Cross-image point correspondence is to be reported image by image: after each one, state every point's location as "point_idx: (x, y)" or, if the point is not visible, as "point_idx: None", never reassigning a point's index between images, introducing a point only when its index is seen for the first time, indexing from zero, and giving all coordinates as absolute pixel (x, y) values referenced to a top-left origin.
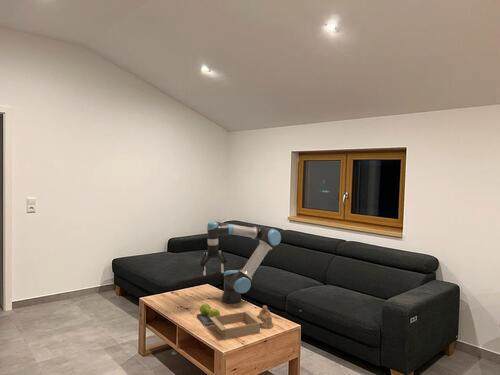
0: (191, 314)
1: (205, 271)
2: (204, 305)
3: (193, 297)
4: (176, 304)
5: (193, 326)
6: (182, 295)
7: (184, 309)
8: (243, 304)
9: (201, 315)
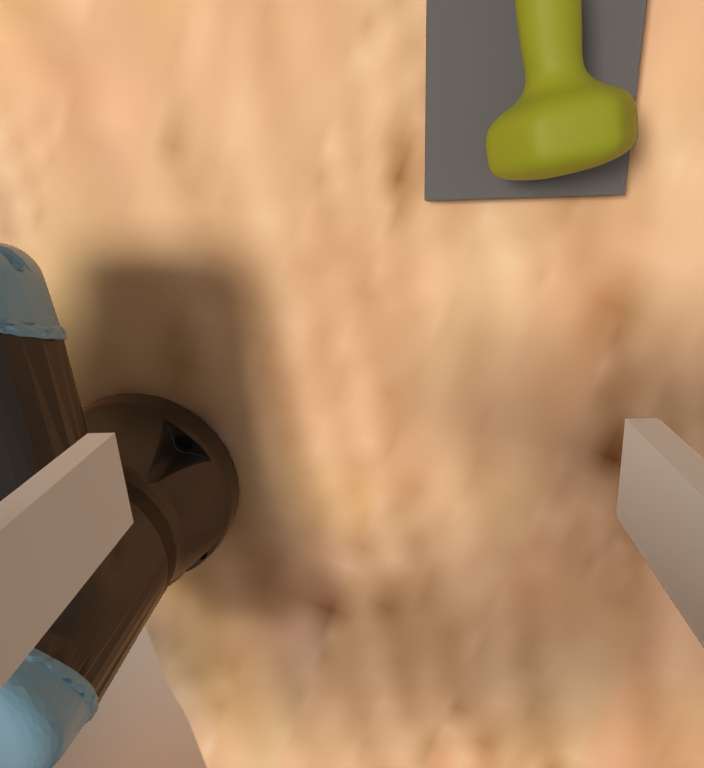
0: (643, 275)
1: (685, 476)
2: (601, 98)
3: (451, 675)
4: None
5: None
6: (522, 751)
7: None
8: None
9: None
